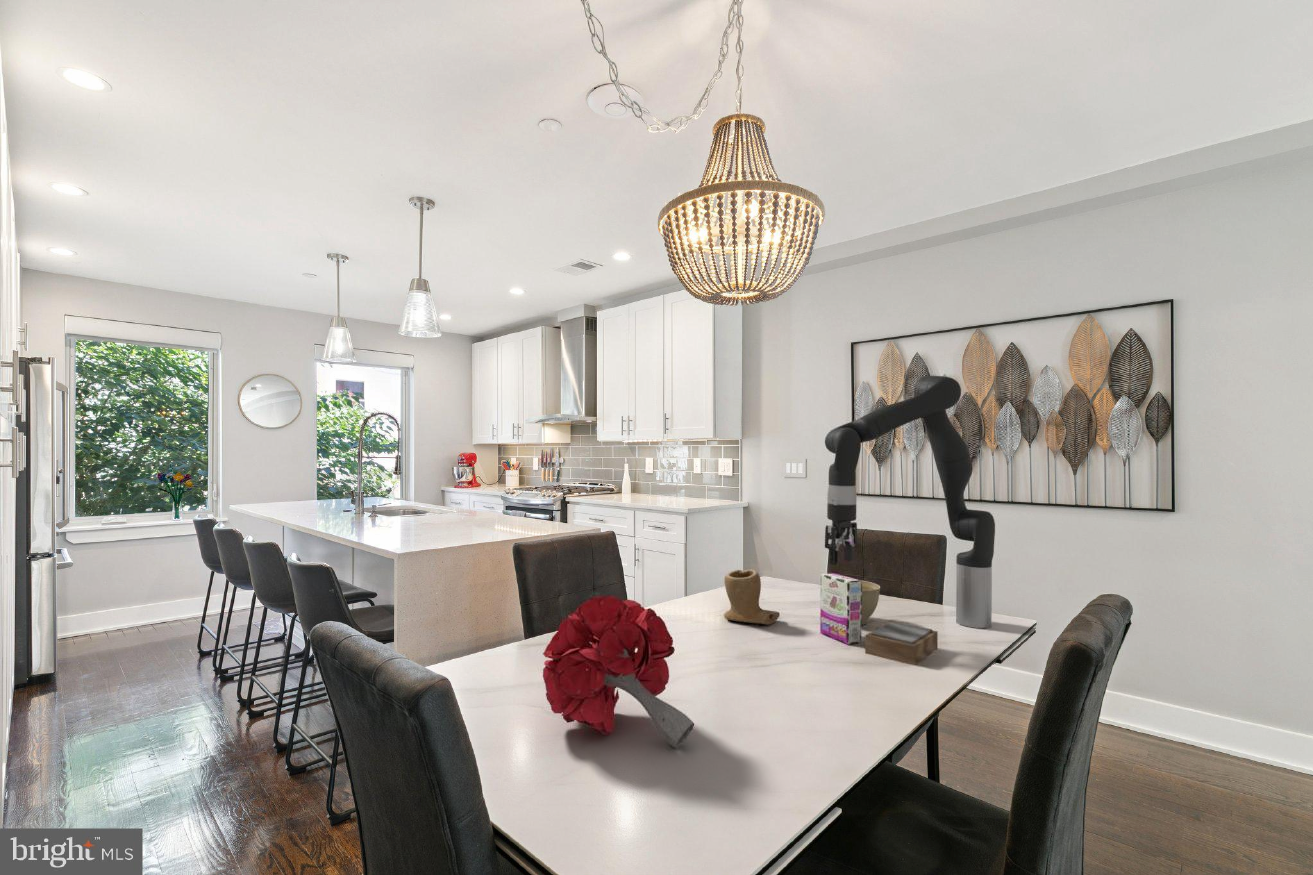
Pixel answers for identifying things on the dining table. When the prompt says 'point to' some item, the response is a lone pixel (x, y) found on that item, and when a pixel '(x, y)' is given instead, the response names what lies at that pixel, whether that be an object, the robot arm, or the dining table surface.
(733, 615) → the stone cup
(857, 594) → the candy bar box
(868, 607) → the planter bowl
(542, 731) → the dining table surface
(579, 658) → the bouquet
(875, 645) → the stand
